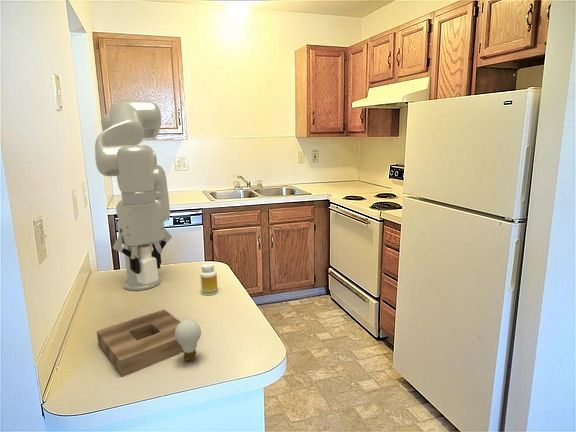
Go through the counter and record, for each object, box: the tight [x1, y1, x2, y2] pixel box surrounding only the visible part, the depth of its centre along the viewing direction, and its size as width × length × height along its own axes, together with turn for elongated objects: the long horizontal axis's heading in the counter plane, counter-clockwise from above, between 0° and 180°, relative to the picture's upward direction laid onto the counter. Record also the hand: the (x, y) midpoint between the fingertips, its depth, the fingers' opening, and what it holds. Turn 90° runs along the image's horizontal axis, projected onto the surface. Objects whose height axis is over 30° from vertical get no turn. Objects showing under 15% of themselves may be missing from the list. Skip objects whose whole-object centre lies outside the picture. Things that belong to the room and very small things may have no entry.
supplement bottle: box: [199, 263, 219, 296], centre depth 130 cm, size 5×5×10 cm
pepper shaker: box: [136, 244, 159, 285], centre depth 97 cm, size 4×4×10 cm
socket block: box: [96, 309, 184, 377], centre depth 98 cm, size 18×18×4 cm
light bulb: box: [175, 319, 202, 361], centre depth 91 cm, size 6×6×10 cm
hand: (146, 269), depth 97 cm, fingers closed on pepper shaker, 4 cm apart
